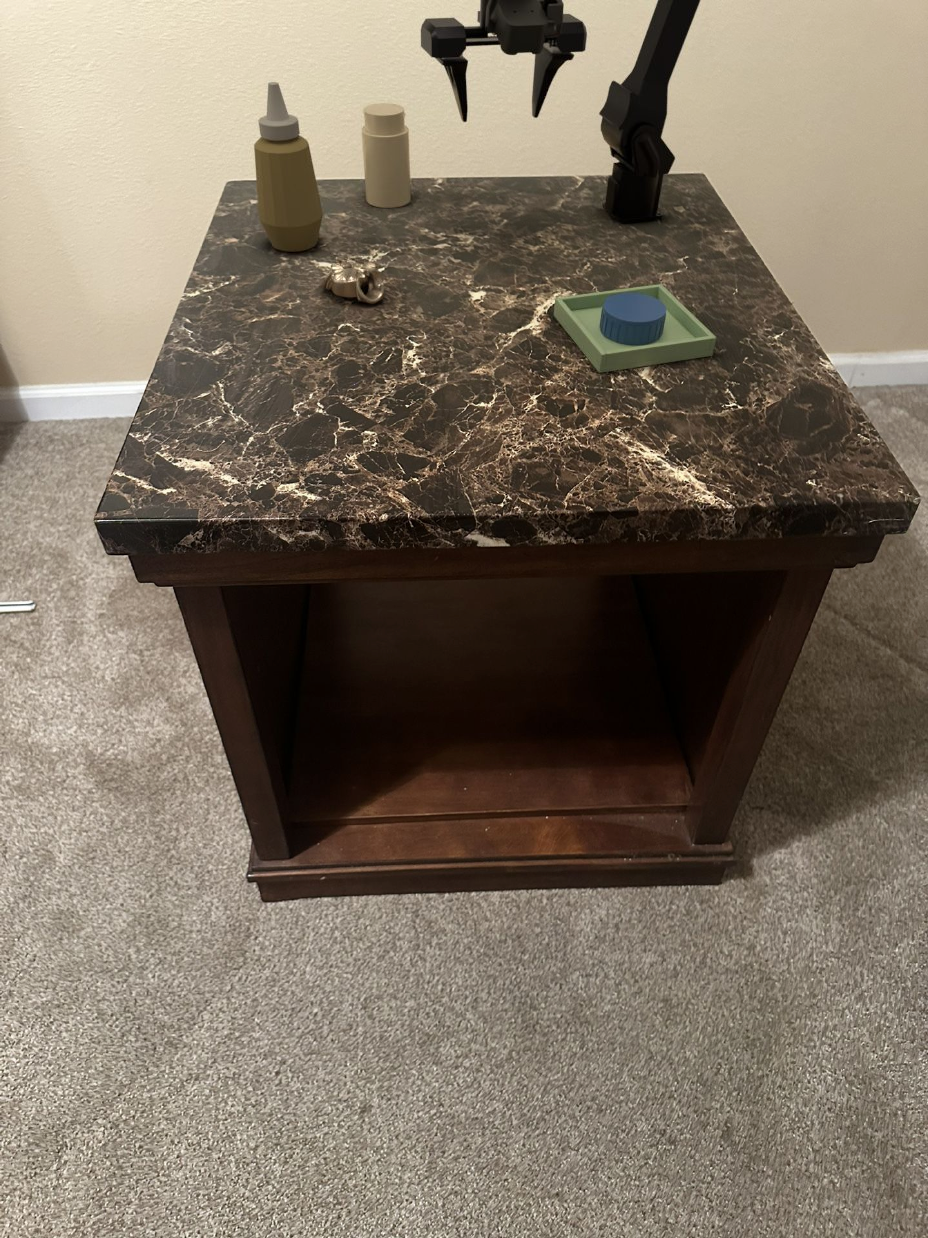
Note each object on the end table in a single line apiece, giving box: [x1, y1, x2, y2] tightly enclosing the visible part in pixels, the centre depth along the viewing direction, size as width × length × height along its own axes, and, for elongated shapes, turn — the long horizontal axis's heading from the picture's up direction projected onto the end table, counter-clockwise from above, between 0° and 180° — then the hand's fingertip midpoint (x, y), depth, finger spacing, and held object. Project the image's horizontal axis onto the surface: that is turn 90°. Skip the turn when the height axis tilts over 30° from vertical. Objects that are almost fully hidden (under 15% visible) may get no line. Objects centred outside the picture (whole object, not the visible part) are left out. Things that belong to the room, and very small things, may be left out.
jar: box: [360, 102, 412, 209], centre depth 114 cm, size 6×6×11 cm
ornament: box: [322, 256, 385, 305], centre depth 96 cm, size 8×7×4 cm
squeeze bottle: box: [253, 81, 324, 253], centre depth 101 cm, size 8×8×18 cm
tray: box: [553, 283, 717, 374], centre depth 91 cm, size 13×13×2 cm
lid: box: [599, 293, 666, 345], centre depth 90 cm, size 7×7×3 cm
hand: (499, 118), depth 102 cm, fingers open, 9 cm apart
